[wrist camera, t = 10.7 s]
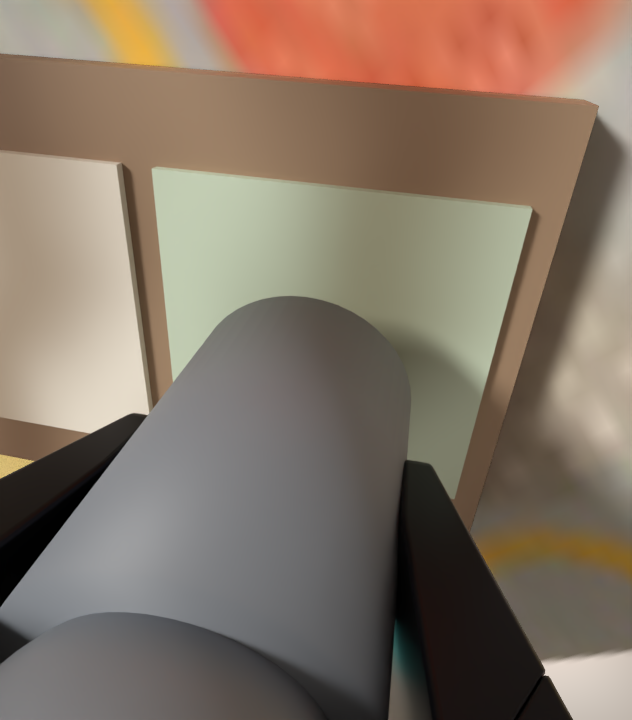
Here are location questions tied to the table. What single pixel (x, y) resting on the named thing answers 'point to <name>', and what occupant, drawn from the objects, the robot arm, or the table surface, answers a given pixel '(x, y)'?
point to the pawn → (231, 540)
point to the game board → (270, 236)
